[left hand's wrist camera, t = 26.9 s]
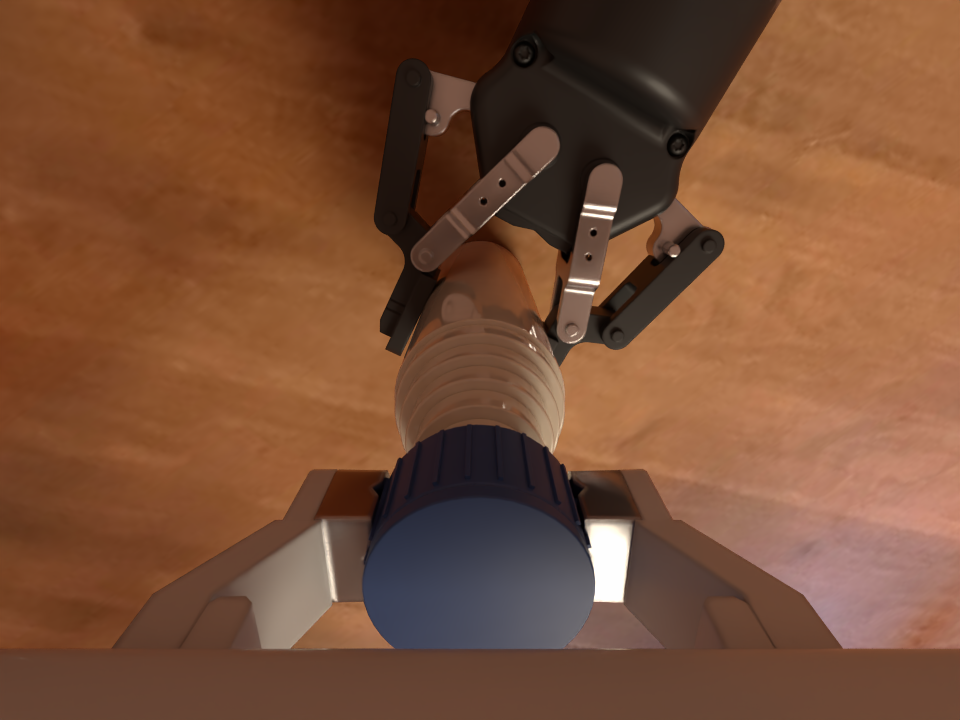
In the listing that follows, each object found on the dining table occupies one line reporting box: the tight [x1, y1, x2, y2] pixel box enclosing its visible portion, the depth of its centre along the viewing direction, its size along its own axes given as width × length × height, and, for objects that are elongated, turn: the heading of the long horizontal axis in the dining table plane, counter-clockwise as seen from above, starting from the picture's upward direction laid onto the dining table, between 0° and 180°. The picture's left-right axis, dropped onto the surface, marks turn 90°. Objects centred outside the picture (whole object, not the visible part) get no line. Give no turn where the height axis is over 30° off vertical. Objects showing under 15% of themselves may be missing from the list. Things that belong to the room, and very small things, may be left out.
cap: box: [362, 424, 596, 649], centre depth 9 cm, size 4×4×2 cm
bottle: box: [395, 241, 565, 455], centre depth 19 cm, size 5×5×21 cm
